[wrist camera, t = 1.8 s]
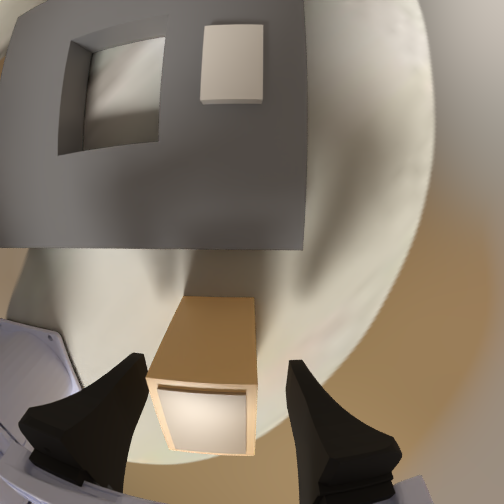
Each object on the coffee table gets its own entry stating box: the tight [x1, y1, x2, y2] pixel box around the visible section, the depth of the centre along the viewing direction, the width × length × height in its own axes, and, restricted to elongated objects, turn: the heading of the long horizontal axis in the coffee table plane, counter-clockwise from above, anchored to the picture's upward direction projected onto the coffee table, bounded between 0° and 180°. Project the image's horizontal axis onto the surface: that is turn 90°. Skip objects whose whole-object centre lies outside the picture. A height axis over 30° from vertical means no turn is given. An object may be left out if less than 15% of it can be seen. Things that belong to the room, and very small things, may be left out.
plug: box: [146, 296, 258, 456], centre depth 13 cm, size 4×5×7 cm
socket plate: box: [0, 0, 308, 250], centre depth 10 cm, size 18×16×3 cm
